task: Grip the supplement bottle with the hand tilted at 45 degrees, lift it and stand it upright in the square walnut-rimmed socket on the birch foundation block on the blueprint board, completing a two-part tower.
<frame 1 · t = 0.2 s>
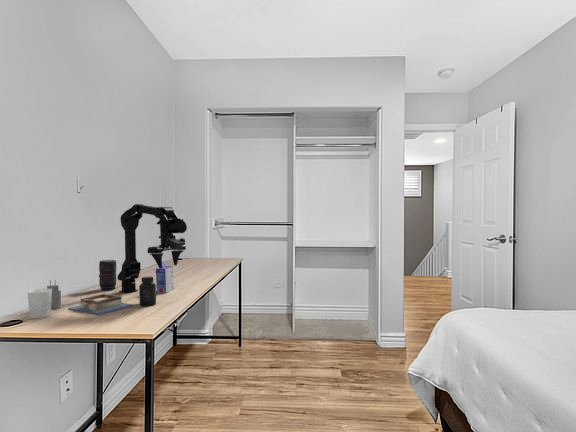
hand: (168, 266, 175), 14 cm above the table, tool pointing down, fingers open, 9 cm apart
camera lens: (108, 289, 194), on the table
blueprint board: (101, 307, 157), on the table
power adapter: (53, 309, 156), on the table
foundation socket: (101, 301, 157), on the blueprint board, point 2 cm above the table
white cup: (40, 316, 145), on the table
ink cartridge box: (165, 291, 189), on the table
supplement bottle: (147, 305, 161), on the table
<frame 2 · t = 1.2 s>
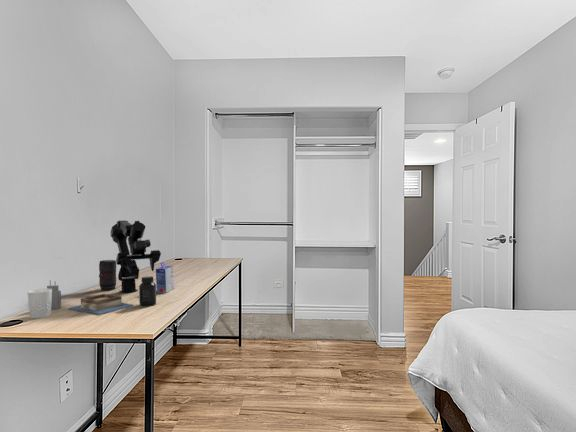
hand: (142, 271, 167), 13 cm above the table, tool tilted 45°, fingers open, 9 cm apart
nothing on the table moved.
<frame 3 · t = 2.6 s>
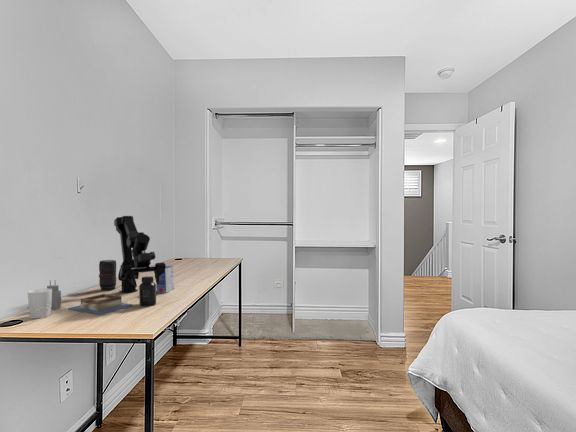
hand: (147, 285, 162), 8 cm above the table, tool tilted 45°, fingers open, 9 cm apart
nothing on the table moved.
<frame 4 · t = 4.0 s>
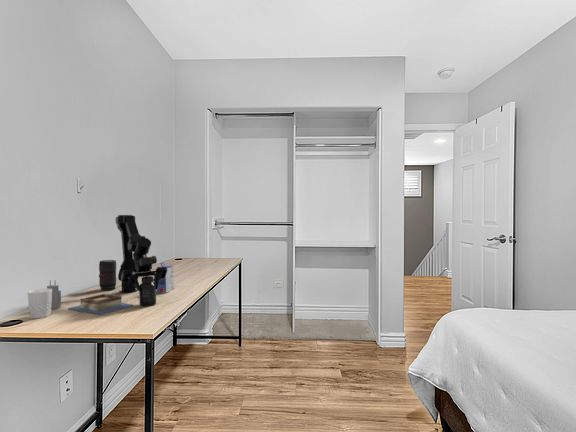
hand: (148, 290, 160), 7 cm above the table, tool tilted 45°, fingers closed on supplement bottle, 7 cm apart
supplement bottle: (147, 305, 161), on the table, touching gripper
everything else where it was.
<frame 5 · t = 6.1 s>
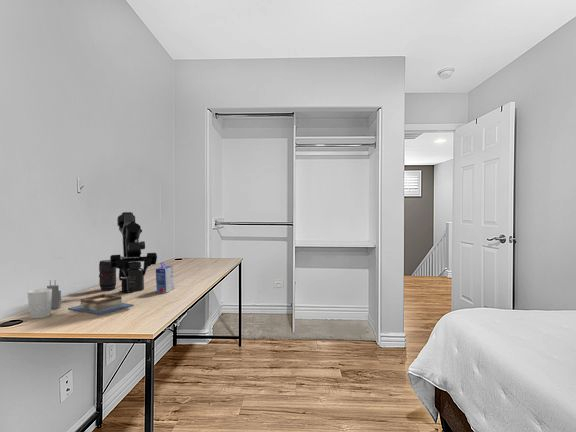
hand: (135, 275, 158), 13 cm above the table, tool tilted 45°, fingers closed on supplement bottle, 7 cm apart
supplement bottle: (135, 290, 159), point 6 cm above the table, touching gripper
everything else where it was.
when the fingers open (11 cm above the table, at t = 8.5 s): supplement bottle drops 1 cm, resting on foundation socket.
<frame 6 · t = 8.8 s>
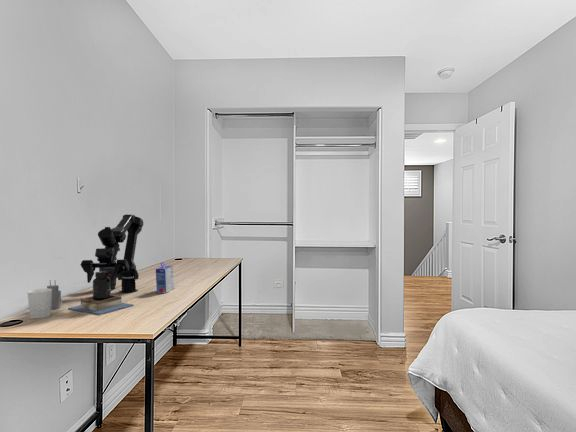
hand: (99, 282, 155), 11 cm above the table, tool tilted 45°, fingers open, 9 cm apart
supplement bottle: (102, 300, 157), point 3 cm above the table, touching foundation socket
everything else where it was.
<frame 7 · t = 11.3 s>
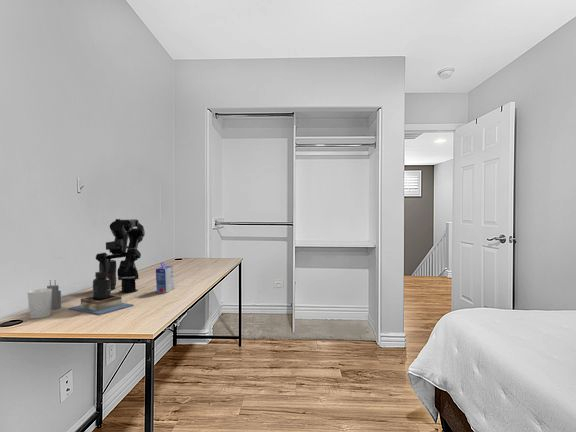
hand: (115, 272, 167), 13 cm above the table, tool tilted 35°, fingers open, 9 cm apart
nothing on the table moved.
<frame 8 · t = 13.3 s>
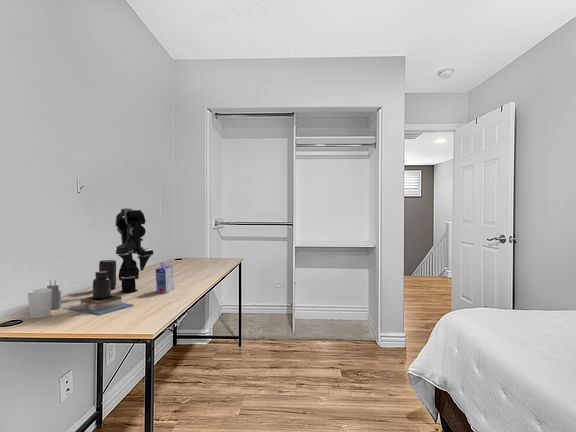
hand: (134, 269, 175), 13 cm above the table, tool pointing down, fingers open, 9 cm apart
nothing on the table moved.
at the end: supplement bottle 0.2 cm off-centre on the foundation socket, point 2.8 cm above the foundation socket's base; supplement bottle tilted 0°; the gripper is holding nothing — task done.
